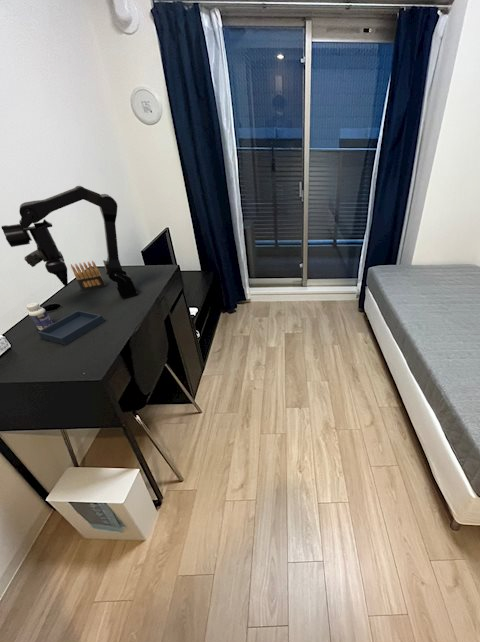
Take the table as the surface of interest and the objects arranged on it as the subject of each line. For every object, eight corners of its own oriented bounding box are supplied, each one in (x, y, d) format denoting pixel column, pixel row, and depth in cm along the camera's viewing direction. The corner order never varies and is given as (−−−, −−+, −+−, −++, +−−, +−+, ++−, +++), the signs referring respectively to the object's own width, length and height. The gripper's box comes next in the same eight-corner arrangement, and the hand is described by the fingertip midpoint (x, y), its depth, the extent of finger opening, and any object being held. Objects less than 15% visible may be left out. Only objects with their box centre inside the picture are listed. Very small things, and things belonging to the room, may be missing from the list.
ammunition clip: (81, 290, 154) (68, 265, 146) (82, 289, 155) (69, 263, 147) (106, 286, 156) (94, 261, 148) (106, 284, 157) (94, 259, 149)
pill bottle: (47, 331, 126) (32, 308, 120) (35, 330, 127) (20, 307, 121) (57, 324, 130) (43, 301, 124) (46, 323, 131) (31, 301, 125)
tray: (81, 316, 134) (78, 310, 132) (104, 321, 130) (101, 315, 128) (41, 338, 122) (37, 332, 121) (65, 345, 118) (61, 338, 116)
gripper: (18, 240, 124) (41, 280, 134) (18, 252, 112) (43, 295, 122) (52, 234, 129) (71, 273, 139) (55, 245, 117) (76, 287, 127)
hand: (65, 282), depth 131 cm, fingers open, 9 cm apart
